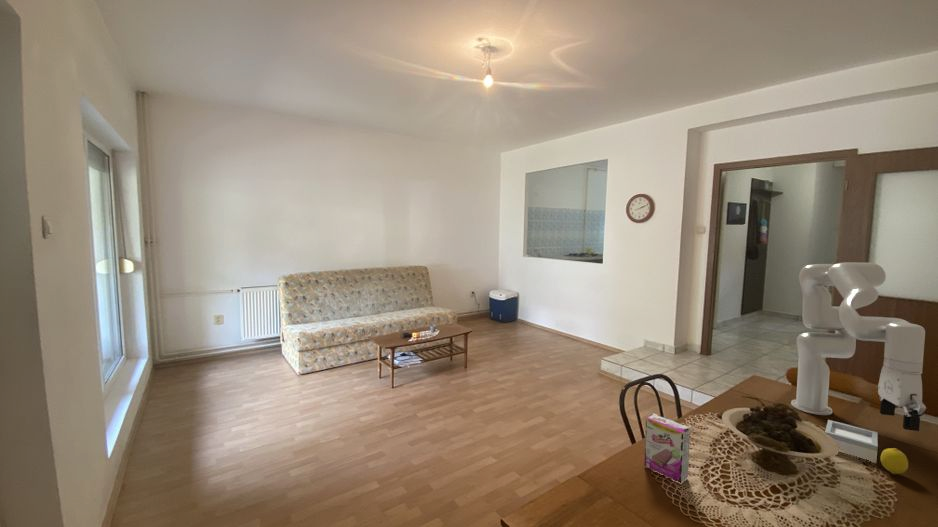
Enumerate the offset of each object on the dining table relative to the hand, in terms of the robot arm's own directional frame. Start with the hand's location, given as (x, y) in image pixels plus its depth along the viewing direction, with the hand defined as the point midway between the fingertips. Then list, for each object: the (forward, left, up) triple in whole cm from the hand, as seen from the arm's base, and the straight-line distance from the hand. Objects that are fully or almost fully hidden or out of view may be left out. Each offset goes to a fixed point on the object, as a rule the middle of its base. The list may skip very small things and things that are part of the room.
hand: (898, 421), depth 112 cm
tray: (-13, -4, -16) cm, 22 cm away
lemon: (0, 0, -17) cm, 17 cm away
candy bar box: (+22, -64, -17) cm, 70 cm away
